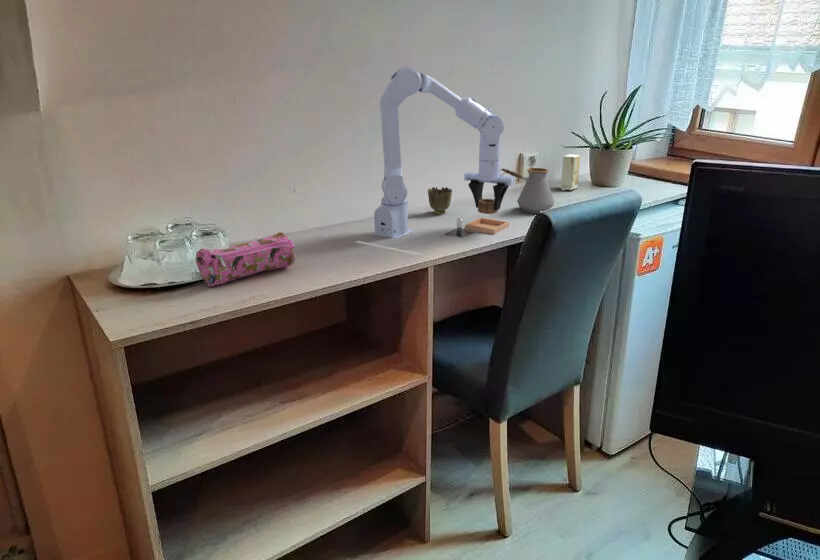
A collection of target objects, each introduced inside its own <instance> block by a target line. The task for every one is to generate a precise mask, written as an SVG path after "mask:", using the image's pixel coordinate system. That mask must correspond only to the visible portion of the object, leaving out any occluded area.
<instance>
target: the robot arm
mask: <svg viewBox="0 0 820 560" xmlns="http://www.w3.org/2000/svg"><path fill="white" fill-rule="evenodd" d="M417 92H419V93H422V94H431V95H433V96H435V97H436V98H437V99H438V100H441V101H443V102H444V103H445V104H447V105H449V106H450V107H452V108H454V111H455V115H456V117H458V118H459V119H460V120H462V121H463V122H465V123H467V124H468V125H469V126H471V127H473V129H477V130H478V132H479V149H478V153H479V154H478V156H479V157H478V172H465V173H464V174H463V177H464V178H463V180H464V181H466V182H467V181H470V182H468V184H467V185H468V187H469V190H470V191H471V193H472V197H473V200H474V203H475V208H477V209H478V200H480V199H483V191H484V190H483V189H484V185H485V183H488V184H495V185H493V186H492V189H493V197H494V198H493V199H495V200H494V210H498V211H499V210H500V209H501V206H502V202H503V199H504V197H505V195H506V192H507V191H508V189H509V187H512V186H514V185H515V179H516V177H512V176H507V175H502V174H500V171H501V168H500V167H501V149H502V148H501V145H502V142H501V141H502V140H501V138H502V134H503V133H504V130H505V126H504V122H503V120H502V118H501V117H499V116H497V115H495V114H494V113H492V110H491V109H490V108H485V106H482V105H481V104H480V103H478V100H477V98H475V97H469V96H467V97H463V98H462V97H460V96H459V95H458V94H456V93H454V91H451V90H450V89H449V88H447V87H446V86H445V85H443V84H442V83H441V82H439V81H438V80H437V79H436V78H433V77H431V76H429V75H427V74H426V73H425V74H424V73H423V72H421V71H418V70H417V69H416V68H413V67H409V66H403V67H401V68H399V69H398V70H397V71H396V72H394V73H393V74H392V75H391V76H390V79H389V81H388V83H387V85H386V87H385V89H384V90H383V92H382V94H381V96H380V98H379V108H380V120H381V121H380V123H381V137H382V138H381V139H382V151H383V152H382V153H383V173H384V174H383V175H384V177H383V180H382V182H381V189H382V192H383V197H382V198H381V200H380V201H381V203H380V204H379V206H378V207H377V208H375V211H374V215H373V216H374V217H373V220H374V232H373V233H372V235H374V236H378V237H379V236H380V237H386V238H390V239H398V238H401V237H402V236H405V235H408V234H410V233H412V232H414V231H415V229H412V228H409V227H408V226H409V219H408V218H409V216H408V215H409V214H408V212H409V210H408V208H409V207H408V198H407V196H408V188H407V186H406V184H405V182H404V175H403V168H402V156H401V138H400V136H401V135H400V121H399V120H400V119H399V118H400V117H399V107H400V106H401V105H402V104H403V103H404V101H405V100H406V99H407V98H409V97H411V96H412V95H414V94H416V93H417Z"/></svg>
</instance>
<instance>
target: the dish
mask: <svg viewBox="0 0 820 560" xmlns="http://www.w3.org/2000/svg"><path fill="white" fill-rule="evenodd" d="M509 227H510V222H509V221H505V220H500V219H499V220H498V219H493V218H492V219H491V218H487V217H486V218H485V217H477V218H476V219H474V220H472V221H470V222H468V223H466V224H464V230H465V231H471V232H478V233H479V232H480V233H485V234H490V235H496V234H498V233H500V232H501V231H503V230H505V229H507V228H509Z"/></svg>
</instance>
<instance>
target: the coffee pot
mask: <svg viewBox="0 0 820 560" xmlns="http://www.w3.org/2000/svg"><path fill="white" fill-rule="evenodd" d="M500 171H502V172H503V174H501V175H502V176H504V175H505V174H509V175H511V177H512V176H513V177H514V178H518V179H521V180H524V181H526V182H525V183H524V186H523V187H522V190H521V192H520V194H519V196H518V199H517V201H516V202H517V205H518V206H519V207H520V208H521V209H522V211H523V212H525V211H526V212H525V213H529V212H530V214H539V213H538V212H540V211H545V210H548V211H549V210H551V209H552V207H554V204H555V199H554V197H553V194H552V191H551V188H550V185H549V182H548V180H547V177H546V176H547V174H548V172H549V169H547V168H542V167H541V168H540V167H529V168H527V172H528V177H526V176H523V175H521V174H519V173H517V172H515V171H512V170H510V169H506V168H504V167H502V168H500Z"/></svg>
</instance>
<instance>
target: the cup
mask: <svg viewBox="0 0 820 560" xmlns="http://www.w3.org/2000/svg"><path fill="white" fill-rule="evenodd" d="M427 195H428V203H429V206H430V208H431V209H432V210H433V214H435V215H441V216H442V215H446V213H447V212H446V210H448V209H449V208H450V205H451V202H452V195H453V188H452V189H451V188H448V186H447V187H443V186H442V187H441V188H440V189H439V188H438V187H437V186H436V187H434V186H432V188H427Z"/></svg>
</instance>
